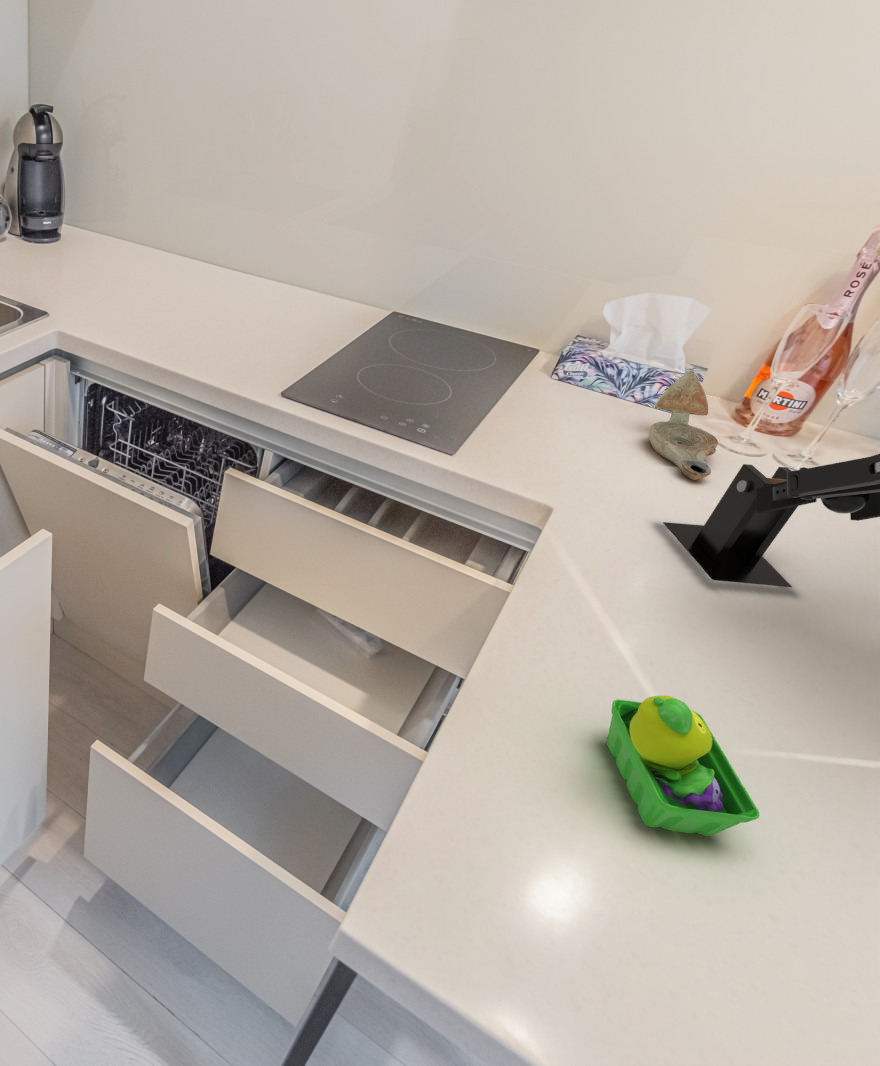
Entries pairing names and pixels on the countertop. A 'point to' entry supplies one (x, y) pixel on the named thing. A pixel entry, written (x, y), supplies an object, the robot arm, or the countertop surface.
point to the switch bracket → (737, 533)
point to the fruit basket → (676, 768)
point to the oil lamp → (684, 428)
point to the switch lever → (839, 501)
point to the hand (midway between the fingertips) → (806, 504)
